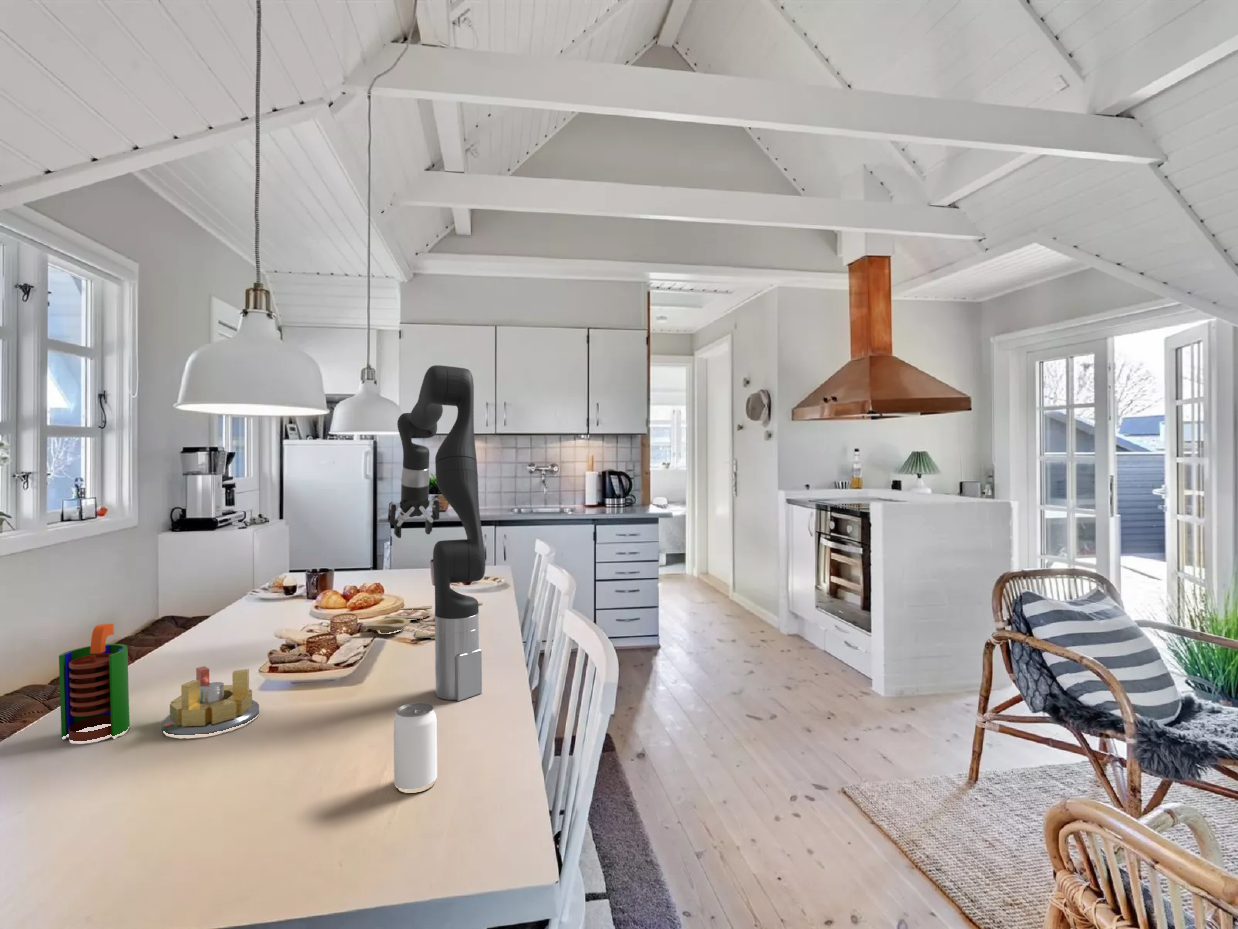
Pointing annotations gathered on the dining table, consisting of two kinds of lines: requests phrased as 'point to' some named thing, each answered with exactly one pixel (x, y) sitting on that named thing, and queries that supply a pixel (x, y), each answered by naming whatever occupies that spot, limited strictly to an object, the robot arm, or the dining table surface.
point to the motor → (94, 688)
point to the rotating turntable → (209, 695)
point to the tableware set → (402, 623)
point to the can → (415, 745)
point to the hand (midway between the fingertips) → (413, 535)
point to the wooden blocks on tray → (197, 714)
